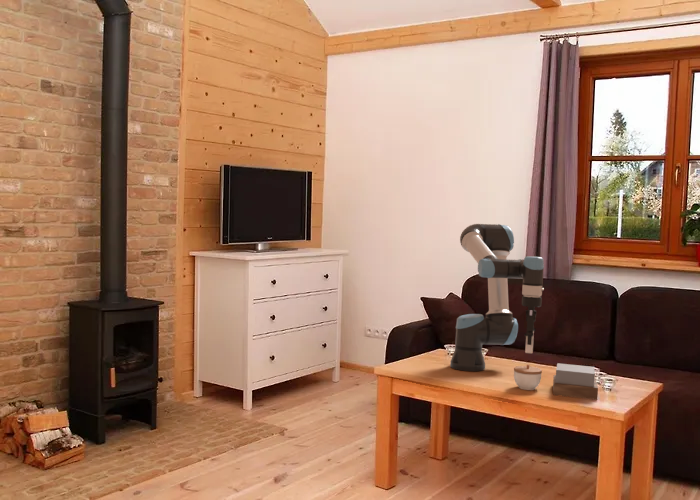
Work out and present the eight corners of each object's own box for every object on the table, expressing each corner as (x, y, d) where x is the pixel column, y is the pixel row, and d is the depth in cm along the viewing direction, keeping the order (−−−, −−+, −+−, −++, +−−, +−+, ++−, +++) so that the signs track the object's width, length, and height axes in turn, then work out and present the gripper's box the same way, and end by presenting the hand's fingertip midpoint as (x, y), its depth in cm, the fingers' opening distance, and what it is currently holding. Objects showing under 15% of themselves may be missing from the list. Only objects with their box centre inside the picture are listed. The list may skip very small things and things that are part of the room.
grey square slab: (556, 375, 296) (557, 363, 295) (593, 379, 291) (594, 366, 291) (555, 382, 282) (556, 369, 282) (593, 386, 278) (594, 373, 278)
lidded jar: (520, 383, 298) (521, 360, 297) (545, 388, 291) (546, 365, 291) (508, 387, 290) (509, 364, 289) (533, 393, 283) (534, 368, 282)
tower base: (552, 387, 297) (553, 374, 296) (594, 391, 293) (595, 379, 292) (553, 396, 281) (553, 383, 281) (597, 401, 277) (598, 388, 277)
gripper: (541, 299, 275) (538, 356, 276) (542, 293, 299) (539, 345, 300) (521, 298, 277) (518, 354, 278) (523, 292, 301) (520, 344, 302)
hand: (529, 350), depth 289 cm, fingers open, 13 cm apart
